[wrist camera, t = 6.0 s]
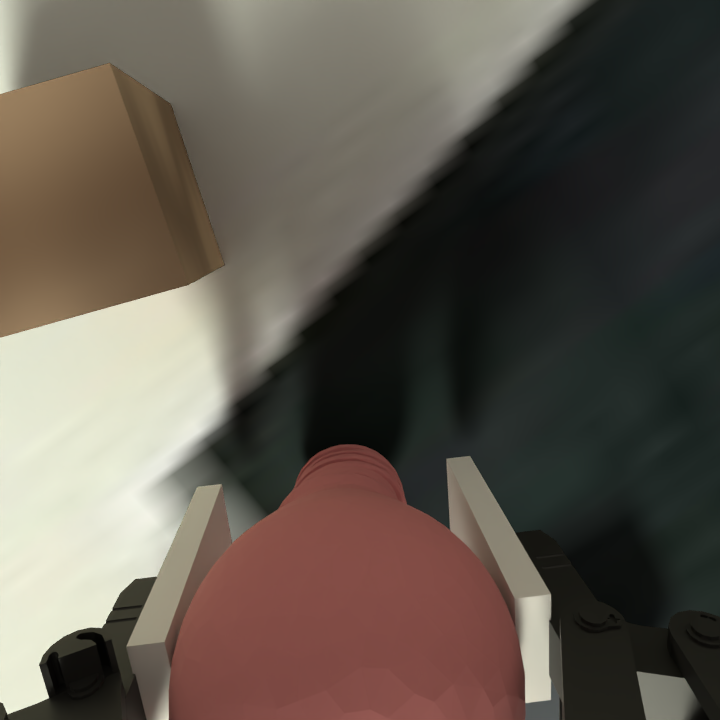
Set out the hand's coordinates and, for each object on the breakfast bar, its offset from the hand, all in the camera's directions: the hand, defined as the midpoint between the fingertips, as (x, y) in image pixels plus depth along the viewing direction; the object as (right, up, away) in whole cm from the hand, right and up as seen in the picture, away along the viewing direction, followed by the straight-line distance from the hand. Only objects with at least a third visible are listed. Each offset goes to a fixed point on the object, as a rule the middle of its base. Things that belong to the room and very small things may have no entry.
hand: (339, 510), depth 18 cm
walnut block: (-7, +10, 0) cm, 12 cm away
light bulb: (0, +1, +2) cm, 2 cm away
